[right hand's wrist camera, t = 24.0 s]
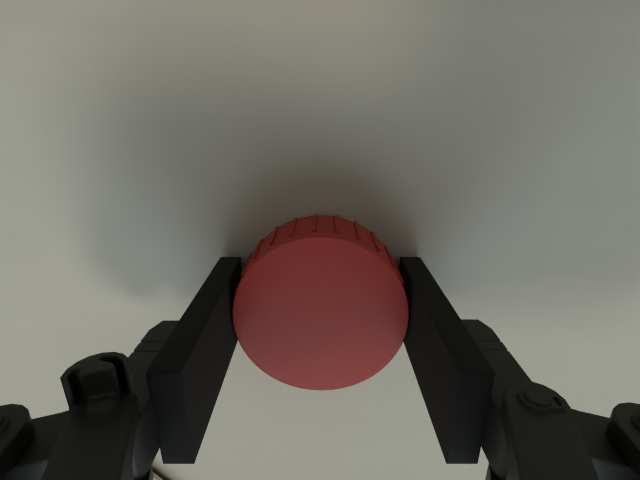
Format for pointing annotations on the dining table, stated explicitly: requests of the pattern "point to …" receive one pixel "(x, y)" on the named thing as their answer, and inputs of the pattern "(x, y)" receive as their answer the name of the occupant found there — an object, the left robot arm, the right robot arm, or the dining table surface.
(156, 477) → the invitation card
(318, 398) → the dining table surface
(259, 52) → the dining table surface
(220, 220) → the dining table surface
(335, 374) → the lid
